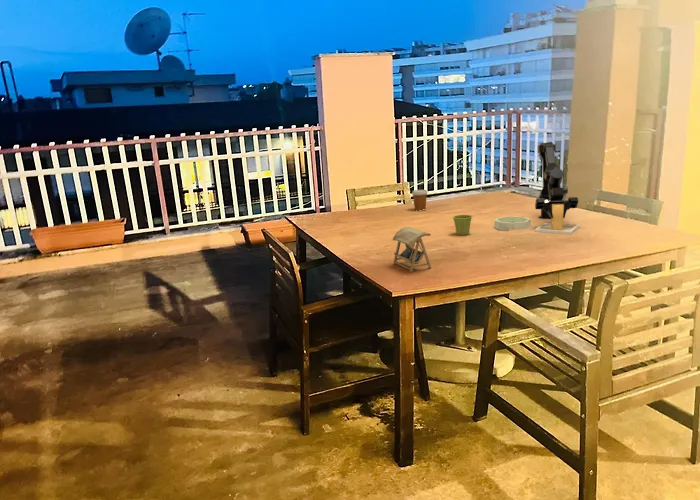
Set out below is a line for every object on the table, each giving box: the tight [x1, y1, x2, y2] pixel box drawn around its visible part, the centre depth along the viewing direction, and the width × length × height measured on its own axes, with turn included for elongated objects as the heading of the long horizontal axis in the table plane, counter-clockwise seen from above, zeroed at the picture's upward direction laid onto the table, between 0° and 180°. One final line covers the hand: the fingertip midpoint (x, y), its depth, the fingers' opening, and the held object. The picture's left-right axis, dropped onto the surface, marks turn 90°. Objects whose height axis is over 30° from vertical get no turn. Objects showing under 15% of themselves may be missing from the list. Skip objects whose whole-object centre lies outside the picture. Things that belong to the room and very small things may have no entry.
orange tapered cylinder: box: [551, 203, 564, 231], centre depth 253 cm, size 5×5×12 cm
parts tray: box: [534, 222, 580, 235], centre depth 255 cm, size 16×16×2 cm
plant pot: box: [452, 214, 473, 236], centre depth 261 cm, size 9×9×9 cm
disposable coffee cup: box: [411, 189, 429, 211], centre depth 329 cm, size 10×10×12 cm
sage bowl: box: [494, 215, 532, 232], centre depth 268 cm, size 16×16×4 cm
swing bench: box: [392, 226, 432, 273], centre depth 213 cm, size 15×10×15 cm, turn 24°
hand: (558, 218), depth 252 cm, fingers closed on orange tapered cylinder, 5 cm apart
